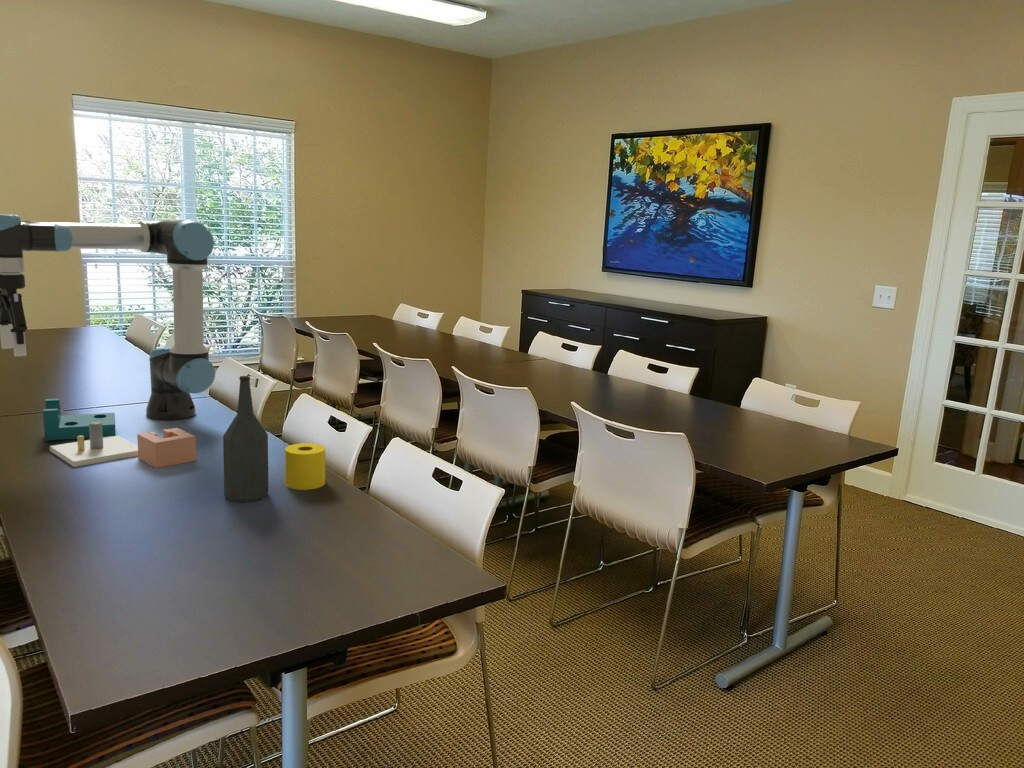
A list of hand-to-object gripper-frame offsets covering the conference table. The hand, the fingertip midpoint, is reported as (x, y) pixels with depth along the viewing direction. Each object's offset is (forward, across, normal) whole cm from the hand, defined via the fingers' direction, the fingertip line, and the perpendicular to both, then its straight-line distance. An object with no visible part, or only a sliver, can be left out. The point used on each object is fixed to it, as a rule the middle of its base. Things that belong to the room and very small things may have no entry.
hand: (13, 352), depth 208 cm
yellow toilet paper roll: (+28, +69, +48) cm, 89 cm away
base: (+28, +14, +15) cm, 34 cm away
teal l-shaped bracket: (+28, -6, +17) cm, 33 cm away
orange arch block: (+28, +30, +28) cm, 50 cm away
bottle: (+28, +69, +32) cm, 81 cm away
